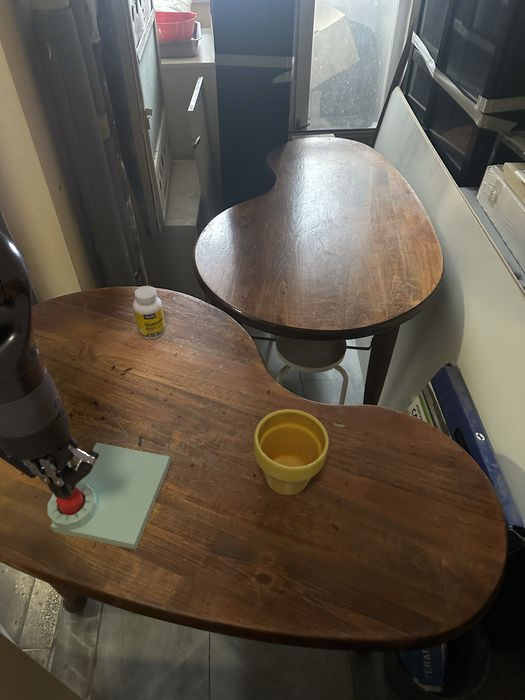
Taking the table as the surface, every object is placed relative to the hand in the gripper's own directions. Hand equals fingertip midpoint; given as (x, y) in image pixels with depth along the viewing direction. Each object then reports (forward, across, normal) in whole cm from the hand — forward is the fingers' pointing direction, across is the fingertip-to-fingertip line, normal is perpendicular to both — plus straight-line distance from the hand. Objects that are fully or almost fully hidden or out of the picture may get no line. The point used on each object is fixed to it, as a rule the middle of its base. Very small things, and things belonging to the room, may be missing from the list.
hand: (65, 492), depth 63 cm
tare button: (+3, 0, 0) cm, 3 cm away
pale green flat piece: (+6, +4, +4) cm, 9 cm away
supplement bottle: (+6, -4, +40) cm, 40 cm away
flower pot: (+6, +28, +13) cm, 31 cm away
